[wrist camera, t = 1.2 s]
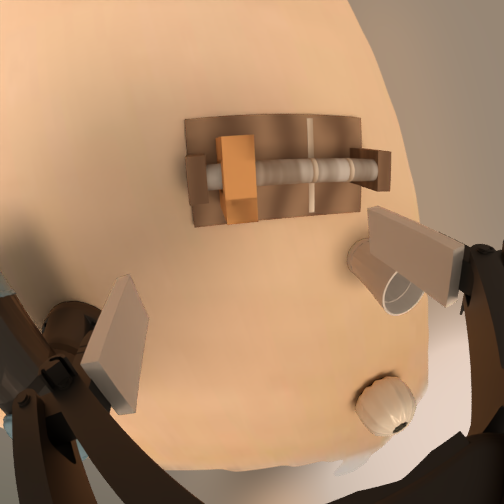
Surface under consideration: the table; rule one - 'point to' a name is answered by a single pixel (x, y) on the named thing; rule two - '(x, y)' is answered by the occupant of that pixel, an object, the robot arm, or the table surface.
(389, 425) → the vase
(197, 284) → the table surface
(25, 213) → the table surface
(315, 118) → the pipe stand
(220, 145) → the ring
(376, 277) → the cup
